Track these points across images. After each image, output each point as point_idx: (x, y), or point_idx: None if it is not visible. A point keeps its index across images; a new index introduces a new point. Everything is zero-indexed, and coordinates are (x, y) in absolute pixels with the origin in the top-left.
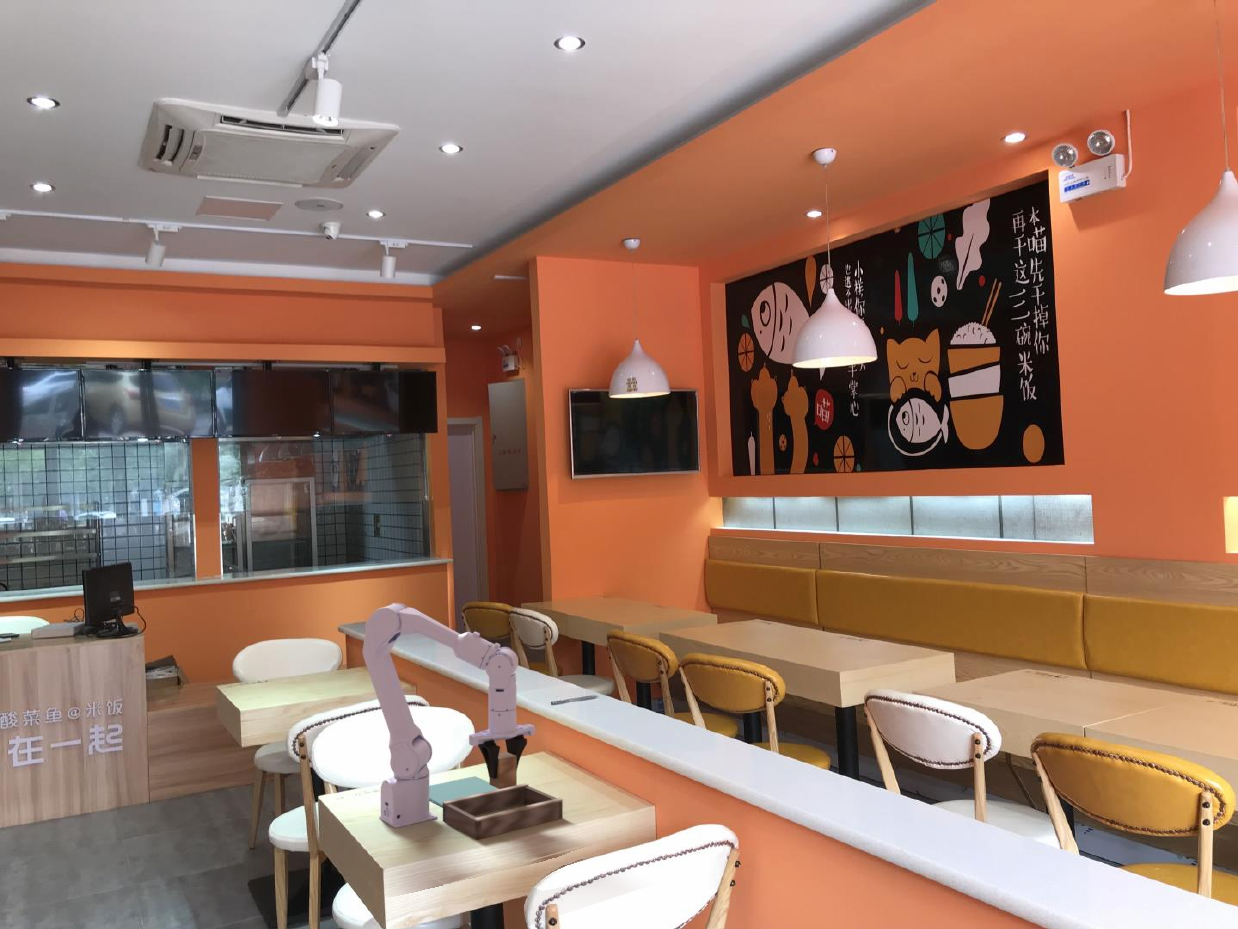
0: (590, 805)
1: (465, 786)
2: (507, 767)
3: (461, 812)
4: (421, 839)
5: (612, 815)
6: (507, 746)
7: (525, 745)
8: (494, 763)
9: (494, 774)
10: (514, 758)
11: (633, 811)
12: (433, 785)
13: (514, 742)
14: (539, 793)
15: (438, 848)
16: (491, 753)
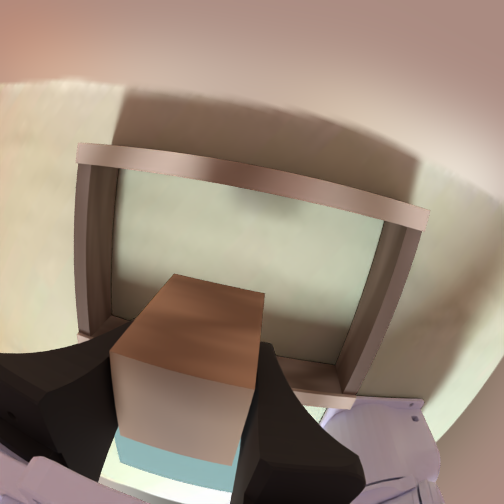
0: (19, 180)
1: (161, 455)
2: (201, 334)
3: (390, 316)
4: (452, 319)
5: (34, 87)
6: (102, 453)
7: (14, 356)
8: (283, 390)
9: (273, 353)
10: (131, 348)
11: (4, 84)
12: (204, 486)
13: (66, 435)
14: (86, 259)
15: (477, 243)
16: (333, 442)
